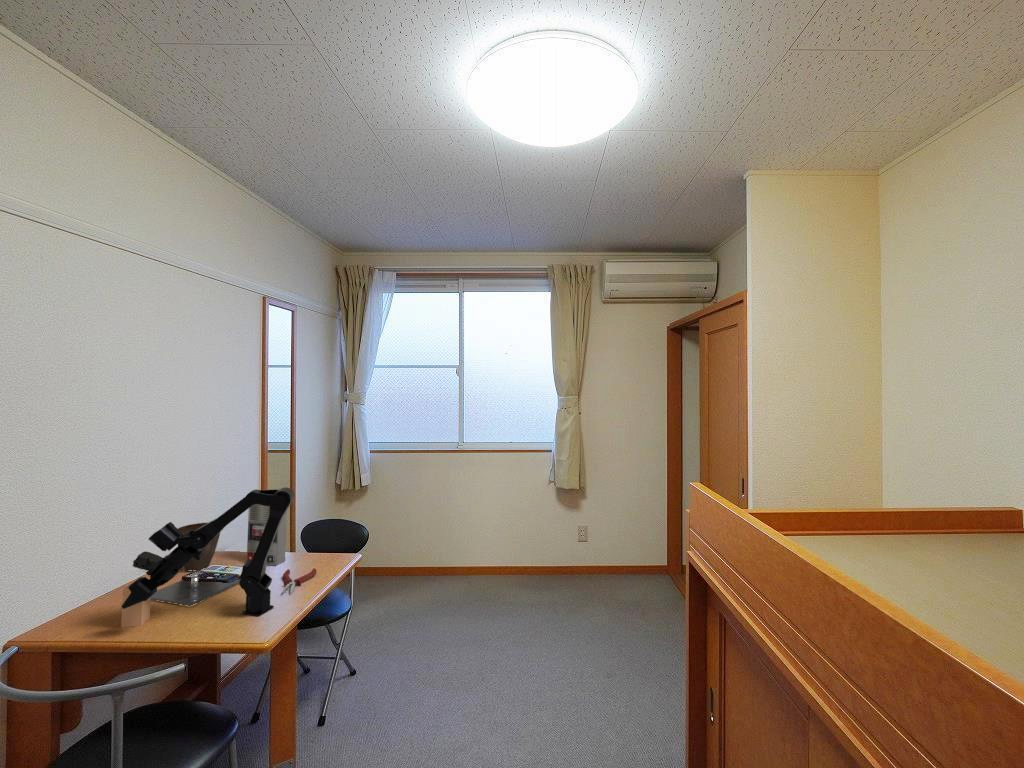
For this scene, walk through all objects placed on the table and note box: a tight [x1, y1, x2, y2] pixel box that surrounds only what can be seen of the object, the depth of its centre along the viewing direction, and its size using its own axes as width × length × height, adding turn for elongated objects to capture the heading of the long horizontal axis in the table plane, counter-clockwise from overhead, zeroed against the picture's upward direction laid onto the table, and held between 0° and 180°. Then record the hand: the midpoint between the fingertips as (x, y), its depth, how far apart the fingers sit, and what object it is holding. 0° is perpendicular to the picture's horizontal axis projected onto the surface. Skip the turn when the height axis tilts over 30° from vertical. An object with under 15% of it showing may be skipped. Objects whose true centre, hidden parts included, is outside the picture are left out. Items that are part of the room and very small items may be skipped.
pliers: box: [280, 568, 317, 595], centre depth 165 cm, size 12×20×3 cm, turn 11°
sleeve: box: [120, 582, 152, 629], centre depth 135 cm, size 5×5×11 cm
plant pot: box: [177, 522, 221, 571], centre depth 178 cm, size 15×15×16 cm
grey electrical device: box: [244, 504, 288, 566], centre depth 186 cm, size 14×6×25 cm, turn 82°
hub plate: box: [151, 573, 240, 606], centre depth 158 cm, size 20×20×6 cm
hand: (131, 600), depth 135 cm, fingers open, 9 cm apart
